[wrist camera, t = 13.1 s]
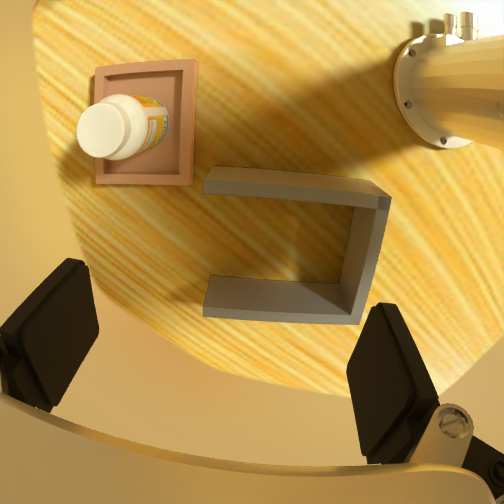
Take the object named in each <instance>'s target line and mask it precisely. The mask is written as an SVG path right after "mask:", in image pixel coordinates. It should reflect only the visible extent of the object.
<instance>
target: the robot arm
mask: <svg viewBox="0 0 504 504" xmlns="http://www.w3.org/2000/svg"><path fill="white" fill-rule="evenodd" d="M444 26H445V33H442V34H427V35H423V36H420V37H417V38H415V39H413V40H412V41H410V42H409V43H408V44H407V45H406V46H405V47H404V48H403V49H402V50H401V52H400V54H399V56H398V58H397V60H396V64H395V68H394V76H393V85H394V93H395V97H396V101H397V105H398V107H399V109H400V112H401V114H402V116H403V117H404V119H405V121H406V122H407V124H408V125H409V126H410V128H411V129H412V130H413V131H414V132H415V133H416V134H417V135H418V136H419V137H421V138H422V139H423V140H425V141H427V142H428V143H430V144H432V145H435V146H438V147H441V148H446V149H458V148H462V147H465V146H467V145H469V144H471V143H473V142H477V143H481V144H484V145H488V146H491V147H494V148H497V149H500V150H503V151H504V35H499V36H492V37H486V38H480V39H477V32H478V17H477V16H476V15H475V14H473V13H470V12H461V28H462V37H458V36H457V35H456V28H457V17H456V16H454V15H452V14H444ZM408 52H409V53H410V55H409V53H408ZM405 102H406V106H405V105H404V103H405ZM440 139H441V141H440ZM98 334H99V324H98V320H97V315H96V309H95V304H94V299H93V293H92V287H91V280H90V274H89V268H88V266H86V265H85V263H84V261H82V260H77V259H72V258H67V259H66V260H64V261H63V262H62V263H61V264H60V265H59V266H58V267H57V268H56V269H55V270H54V271H53V272H52V273H51V274H50V275H49V276H48V277H47V278H46V279H45V280H44V281H43V282H42V283H41V284H40V285H39V286H38V287H37V288H36V289H35V290H34V291H33V292H32V293H31V294H30V295H29V296H28V297H27V299H26V300H25V301H24V302H23V303H22V304H21V305H20V306H19V307H18V308H17V309H16V310H15V311H14V312H13V314H12V315H11V316H10V317H9V318H8V319H7V320H6V321H5V323H4V324H3V325H2V326H1V327H0V504H504V454H502V453H501V452H499V451H498V450H496V449H494V448H493V447H491V446H489V445H488V444H486V443H485V442H483V441H481V440H480V439H478V438H477V437H475V436H473V435H472V434H473V430H474V426H473V421H472V419H471V417H470V415H469V414H468V413H467V412H466V410H464V409H463V408H461V407H460V406H458V405H455V404H449V403H447V404H442V405H440V403H439V401H438V398H439V397H438V395H437V392H436V390H435V387H434V385H433V383H432V380H431V378H430V376H429V373H428V371H427V369H426V366H425V364H424V362H423V360H422V357H421V355H420V353H419V351H418V349H417V346H416V344H415V342H414V340H413V338H412V336H411V334H410V331H409V329H408V327H407V325H406V323H405V321H404V319H403V317H402V315H401V313H400V311H399V309H398V307H397V305H396V304H391V303H381V302H380V303H378V304H377V305H376V306H373V307H372V308H371V310H370V312H369V315H368V317H367V320H366V322H365V325H364V327H363V330H362V332H361V334H360V337H359V339H358V342H357V344H356V346H355V349H354V351H353V353H352V355H351V358H350V360H349V362H348V365H347V370H346V373H347V378H348V383H349V388H350V393H351V398H352V404H353V408H354V414H355V420H356V425H357V431H358V436H359V442H360V448H361V453H362V455H363V456H366V458H367V464H380V463H381V465H366V466H331V467H330V466H329V467H314V466H282V465H267V464H256V463H246V462H237V461H228V460H221V459H214V458H208V457H202V456H195V455H190V454H185V453H180V452H175V451H169V450H165V449H160V448H156V447H152V446H147V445H144V444H140V443H136V442H132V441H129V440H125V439H122V438H118V437H115V436H111V435H108V434H105V433H102V432H99V431H96V430H92V429H90V428H87V427H83V426H81V425H78V424H75V423H72V422H70V421H67V420H64V419H62V418H59V417H57V416H54V415H52V414H49V413H50V412H51V410H52V408H53V406H57V405H58V404H59V402H60V401H61V399H62V397H63V395H64V393H65V392H66V390H67V388H68V386H69V384H70V383H71V381H72V379H73V377H74V376H75V374H76V372H77V370H78V368H79V367H80V365H81V363H82V362H83V360H84V358H85V357H86V355H87V353H88V352H89V350H90V348H91V347H92V345H93V343H94V342H95V340H96V338H97V337H98ZM35 407H37V408H38V409H37V408H35ZM40 409H41V410H40ZM42 410H43V411H42ZM44 411H45V412H44ZM47 412H48V413H47Z"/></svg>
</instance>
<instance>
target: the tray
mask: <svg viewBox="0 0 504 504" xmlns="http://www.w3.org/2000/svg"><path fill="white" fill-rule="evenodd" d="M198 64H199V62H198V61H197V60H195V59H189V60H163V61H148V62H136V63H126V64H117V65H109V66H102V67H96V69H95V88H94V104H97V103H98V102H100V101H101V100H102V99H104V98H106V97H108V96H111V95H117V94H124V95H138V96H149V97H153V98H155V99H157V100H159V101H160V102H161V103H162V104H163V105H164V106H165V108H166V109H167V111H168V115H169V129H168V132H167V134H166V136H165V137H164V139H163V140H162V141H161V142H160V143H159V144H158V145H156V146H155V147H153V148H150V149H148V150H145V151H143V152H140V153H138V154H135V155H133V156H131V157H128V158H126V159H122V160H109V159H105V158H103V157H102V158H97V157H94V158H95V178H96V184H149V185H179V186H190V185H191V184H192V182H193V166H194V135H195V113H196V94H197V78H198Z"/></svg>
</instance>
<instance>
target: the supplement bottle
mask: <svg viewBox="0 0 504 504" xmlns="http://www.w3.org/2000/svg"><path fill="white" fill-rule="evenodd" d="M168 129H169V115H168V111H167V109H166V108H165V106H164V105H163V104H162V103H161V102H160V101H159V100H157V99H155V98H153V97H149V96H138V95H124V94H117V95H111V96H108V97H106V98H104V99H102V100H101V101H100V102H98V103H97V104H94V105H92V106H90V107H89V108H87V109H86V110H85V111H84V112H83V114H82V115H81V117H80V118H79V121H78V124H77V131H76V133H77V140H78V143H79V145H80V147H81V148H82V149H83V151H84V152H85V153H87V154H88V155H90V156H92V157H97V158H102V157H103V158H105V159H109V160H122V159H126V158H128V157H131V156H133V155H135V154H138V153H140V152H143V151H145V150H148V149H150V148H153V147H155V146H156V145H158V144H159V143H160V142H161V141H162V140H163V139H164V137H165V136H166V134H167V132H168Z"/></svg>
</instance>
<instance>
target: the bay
mask: <svg viewBox="0 0 504 504" xmlns="http://www.w3.org/2000/svg"><path fill="white" fill-rule="evenodd" d="M203 194H217V195H233V196H248V197H262V198H274V199H286V200H298V201H308V202H319V203H329V204H338V205H347V206H355V207H354V212H353V218H352V223H351V229H350V234H349V239H348V244H347V249H346V254H345V258H344V263H343V268H342V272H341V277H340V281H339V284H330V283H313V282H296V281H280V280H266V279H251V278H237V277H224V276H211V277H210V281H209V285H208V288H207V292H206V296H205V300H204V304H203V317H213V318H225V319H238V320H253V321H268V322H286V323H309V324H340V325H359V323H360V320H361V317H362V314H363V311H364V307H365V304H366V301H367V297H368V294H369V290H370V287H371V283H372V279H373V276H374V272H375V268H376V264H377V261H378V257H379V253H380V249H381V244H382V240H383V236H384V232H385V227H386V223H387V218H388V213H389V209H390V204H391V199H392V197H391V196H390V195H388V194H387V193H386V192H384V191H383V190H382V189H380V188H379V187H378V186H376V185H375V184H374V183H372V182H371V181H369V180H362V179H354V178H347V177H339V176H331V175H322V174H313V173H304V172H294V171H283V170H271V169H259V168H245V167H228V166H213V167H212V169H211V170H210V171H209V173H208V174H207V175H206V177H205V178H204V182H203Z"/></svg>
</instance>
